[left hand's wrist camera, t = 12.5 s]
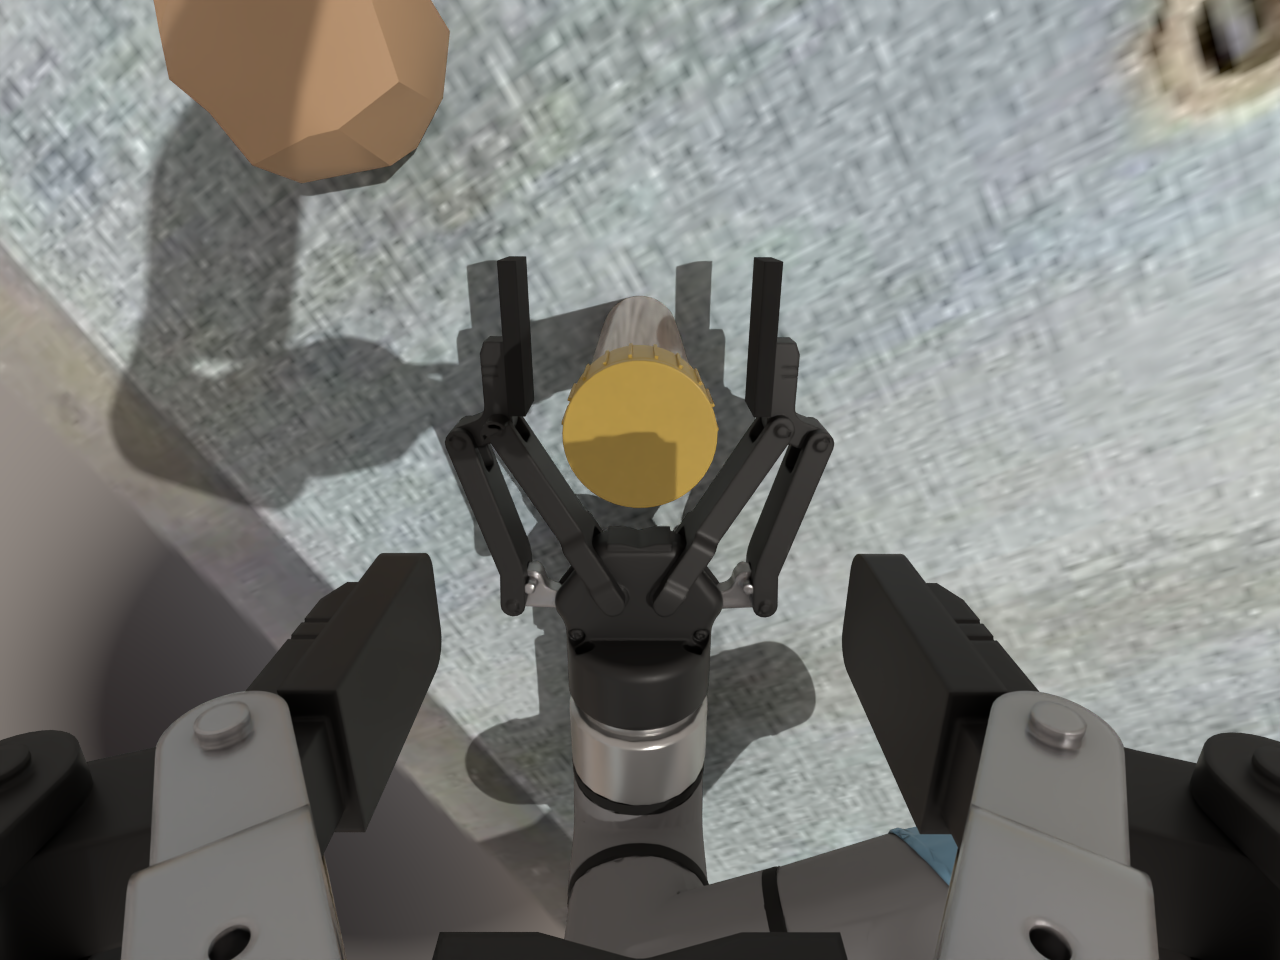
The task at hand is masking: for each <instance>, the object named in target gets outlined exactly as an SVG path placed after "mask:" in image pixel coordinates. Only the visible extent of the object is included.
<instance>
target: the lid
mask: <svg viewBox="0 0 1280 960" xmlns="http://www.w3.org/2000/svg"><path fill="white" fill-rule="evenodd" d="M568 401H570V403H569V405H568V406H567V409H566V412H565V414H564V417H563V420H562V425H563V433H562V434H563V445H564V451H565V454H566V457H567V460H568V462H569V464H570V466H571V469H572V470H573V472H574V473H575V475H576V476H577V478H578V479H579V480H580V481H581V482H582V483H583V485H584V486H586V487H587V488H588V489H589V490H590V491H591V492H593V493H594V494H596V495H597V496H599V497H600V498H602V499H604V500H606V501H609V502H611V503H614V504H617V505H621V506H625V507H633V508H647V507H655V506H659V505H663V504H666V503H669V502H671V501H674V500H676V499H678V498H679V497H681V496H683V495H684V494H686V493H687V492H689V491H690V490H691V489H692V488H693V487H694V486H695V485H697V484H698V482H699V481H700V480H701V479H702V478H703V476H704V475H705V473H706V472H707V470H708V469H709V466H710V464H711V462H712V460H713V457H714V454H715V451H716V445H717V431H719V428H718V425H717V422H716V418H715V414H714V411H713V408H712V407H714V406H715V405H714V403H713V400H712V397H711V395H710V392H709V389H705V387H704V384H703V382H702V381H701V378H700V375H699V372H698V370H697V369H696V368H695V369H693V368H692V367H691V366H690V365H689V364H688V363H687V362H686V361H685V360H683V359H682V358H681V357H680V354H679V353H676V354H674V353H672V352H670V351H668V350H665V349H663V348H659V347H657V345H656V344H654V346H648V345H633V344H632V343H629V346H625V347H621V348H618V349H615V350H612V351H610V352H609V350H607V351H605V354H604V355H603V356H601V357H599V358H598V359H597V360H595V361H594V362H593V363H592V364H591V365H589V364H587V365H586V368H585V371H584V373H583V374H582V375H581V377H580V379H579V380H578V382H577V384H576V383H574V384H573V387H572V390H571V392H570V395H569V397H568Z"/></svg>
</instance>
